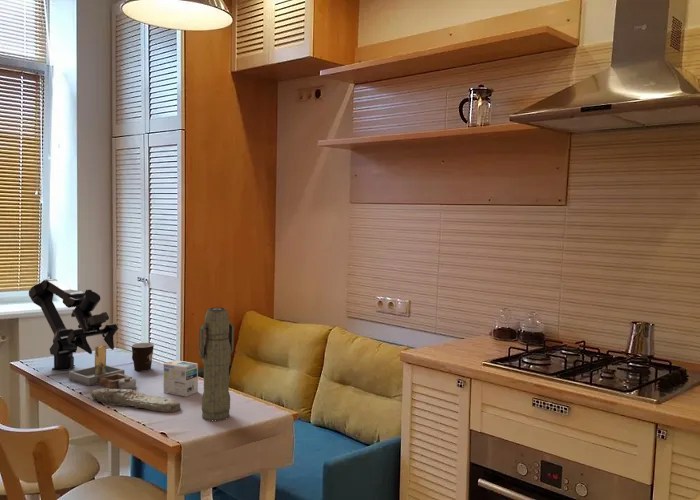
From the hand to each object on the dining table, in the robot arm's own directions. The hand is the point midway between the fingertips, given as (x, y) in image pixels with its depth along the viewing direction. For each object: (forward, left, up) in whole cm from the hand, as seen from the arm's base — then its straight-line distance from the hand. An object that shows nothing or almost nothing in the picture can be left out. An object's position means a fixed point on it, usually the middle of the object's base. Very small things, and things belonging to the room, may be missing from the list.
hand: (102, 351), depth 235 cm
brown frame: (+10, -5, -11) cm, 16 cm away
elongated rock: (+24, -25, -12) cm, 36 cm away
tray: (-3, +2, -11) cm, 12 cm away
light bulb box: (+34, -10, -11) cm, 37 cm away
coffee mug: (+7, +16, -11) cm, 21 cm away
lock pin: (-1, +1, -10) cm, 11 cm away
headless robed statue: (+54, -33, -11) cm, 64 cm away
